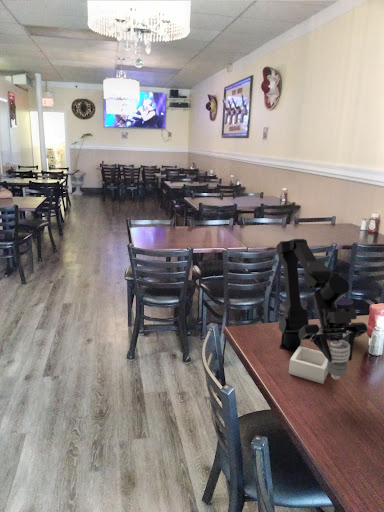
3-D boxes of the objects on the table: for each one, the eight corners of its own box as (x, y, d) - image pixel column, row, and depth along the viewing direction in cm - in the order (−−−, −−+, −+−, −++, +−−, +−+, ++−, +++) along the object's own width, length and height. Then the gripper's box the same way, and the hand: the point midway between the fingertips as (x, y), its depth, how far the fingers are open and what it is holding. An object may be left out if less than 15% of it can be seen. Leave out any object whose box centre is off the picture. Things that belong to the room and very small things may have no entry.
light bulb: (335, 386, 110) (341, 347, 107) (320, 376, 115) (325, 338, 112) (350, 381, 113) (355, 343, 110) (334, 371, 118) (340, 334, 115)
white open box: (288, 373, 129) (289, 359, 127) (298, 359, 138) (299, 345, 136) (322, 383, 123) (324, 369, 122) (330, 368, 132) (332, 354, 131)
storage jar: (340, 329, 161) (345, 294, 157) (353, 341, 152) (358, 304, 148) (316, 330, 160) (321, 295, 156) (328, 342, 150) (333, 305, 146)
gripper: (306, 298, 110) (320, 354, 103) (369, 296, 113) (387, 351, 105) (293, 313, 120) (304, 365, 112) (351, 310, 123) (366, 362, 115)
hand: (340, 360), depth 111 cm, fingers closed on light bulb, 5 cm apart
